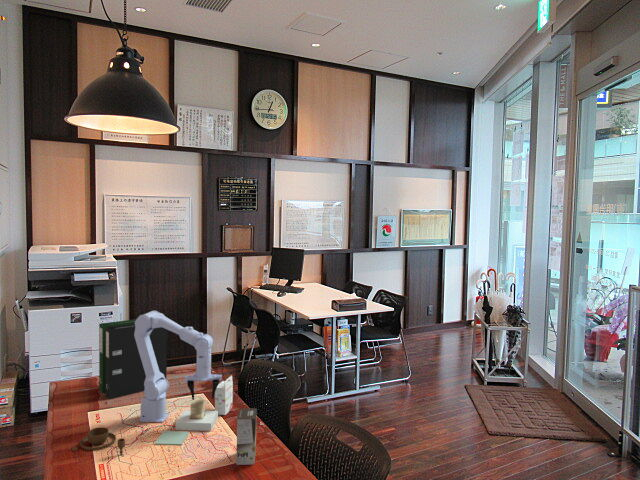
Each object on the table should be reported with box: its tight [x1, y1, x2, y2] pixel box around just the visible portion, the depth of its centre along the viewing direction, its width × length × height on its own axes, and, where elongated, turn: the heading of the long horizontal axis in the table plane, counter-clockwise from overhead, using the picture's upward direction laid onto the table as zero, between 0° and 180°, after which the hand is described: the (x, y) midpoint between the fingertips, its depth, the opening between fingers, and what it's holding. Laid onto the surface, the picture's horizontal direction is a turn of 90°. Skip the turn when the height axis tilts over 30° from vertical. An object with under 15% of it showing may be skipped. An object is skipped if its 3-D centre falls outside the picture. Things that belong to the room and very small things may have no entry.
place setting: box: [71, 426, 126, 456], centre depth 171 cm, size 18×20×6 cm
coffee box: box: [235, 407, 258, 466], centre depth 166 cm, size 9×6×16 cm
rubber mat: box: [154, 430, 190, 446], centre depth 179 cm, size 10×10×1 cm
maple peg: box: [190, 399, 206, 420], centre depth 192 cm, size 4×4×9 cm
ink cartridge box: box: [214, 375, 234, 416], centre depth 205 cm, size 9×5×15 cm, turn 169°
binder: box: [98, 318, 168, 401], centre depth 228 cm, size 27×15×32 cm, turn 132°
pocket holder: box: [175, 409, 219, 432], centre depth 192 cm, size 14×12×3 cm
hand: (203, 398), depth 193 cm, fingers open, 7 cm apart
